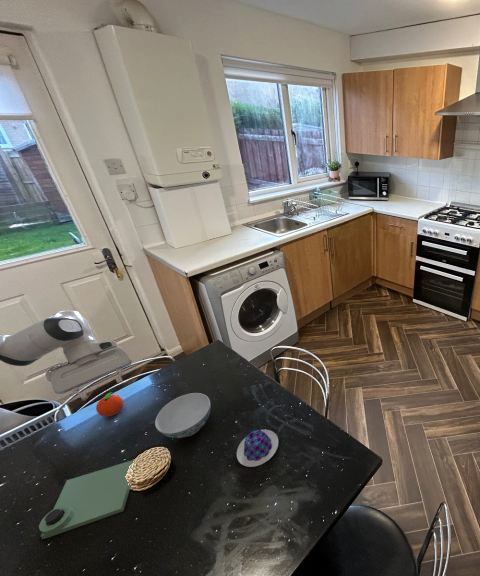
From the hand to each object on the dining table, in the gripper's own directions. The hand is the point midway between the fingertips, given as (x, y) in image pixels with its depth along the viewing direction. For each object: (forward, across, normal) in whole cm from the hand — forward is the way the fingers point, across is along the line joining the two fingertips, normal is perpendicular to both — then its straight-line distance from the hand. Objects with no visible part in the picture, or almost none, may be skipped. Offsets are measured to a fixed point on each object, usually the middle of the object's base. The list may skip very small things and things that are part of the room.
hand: (103, 390), depth 105 cm
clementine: (+8, 0, +3) cm, 9 cm away
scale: (+29, -9, -18) cm, 35 cm away
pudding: (+42, +27, -32) cm, 59 cm away
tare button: (+28, -16, -21) cm, 39 cm away
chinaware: (+26, +16, -15) cm, 34 cm away
